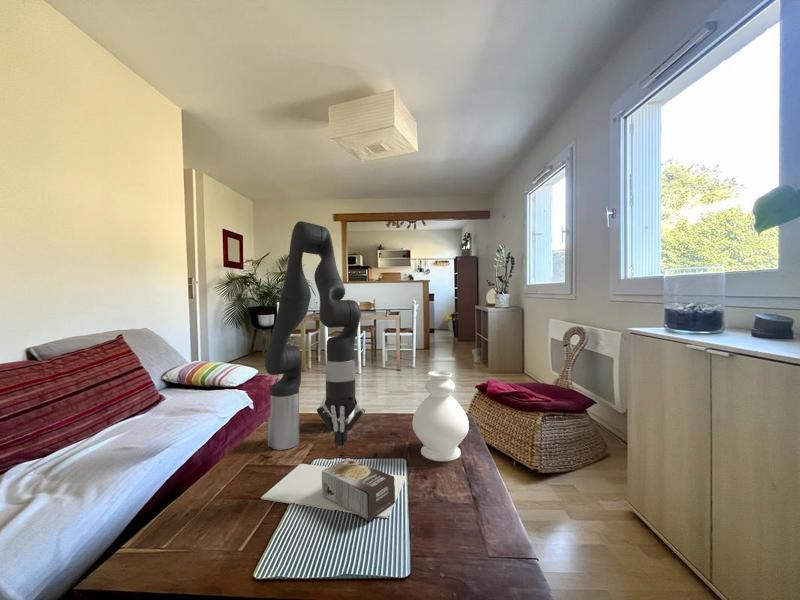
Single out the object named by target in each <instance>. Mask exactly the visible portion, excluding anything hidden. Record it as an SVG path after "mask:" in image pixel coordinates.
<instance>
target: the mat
mask: <svg viewBox="0 0 800 600" xmlns="http://www.w3.org/2000/svg"><path fill="white" fill-rule="evenodd" d="M329 467H330V466H323V465H316V464H306V463H300V464H298V465H297V466H296V467H295V468H294V469H292V470H291V471H290V472H289V473H287V475H285V476H284V477H283V478H282V479H281V480H280V481H279V482H277V483H276V484H275V485H274V486H273V487H272V488H270V489H269V490H268V491H267V492H266V493H264V494H263V495H262V496H261V497H260V499H261V500H262V501H264V500H266V501H272V502H278V503H282V504H284V503H285V504H290V505H292V504H291V503H295V504H294V505H296V504H298V505H297V506H302V505H306V506H305V507H309V506H311V507H310V508H315V507H317V508H316V509H323V510H329V511H335V510H339V511H338V512H341V511H343V513H347V514H348V513H350V514H355V515H357V514H356V513H354V512H352V511H350V510H348V509H346V508H344V507H343V506H341V505H339V504H337V503H335V502H333V501H332V500H330V499H328V498H326V497H324V496H322V471H323V470H325V469H327V468H329ZM388 474H389V473H388ZM389 475H391V476H394V485H395V503H396V502H397V499H398V497H399V495H400V493H401V490H402V488H403V486H404V484H405V482H406V479H407V476H406V475H398V474H389ZM395 503H394V504H393V505H391V506H390V507H388V508H387V509H386V510H384V511H383V512H381V513H380V514H378V515H377V516H375V517H374V518H381V519H386V518H388V519H389V517H390V514H391V512H392V510H393V508H394V506H395ZM388 516H389V517H388Z"/></svg>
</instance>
